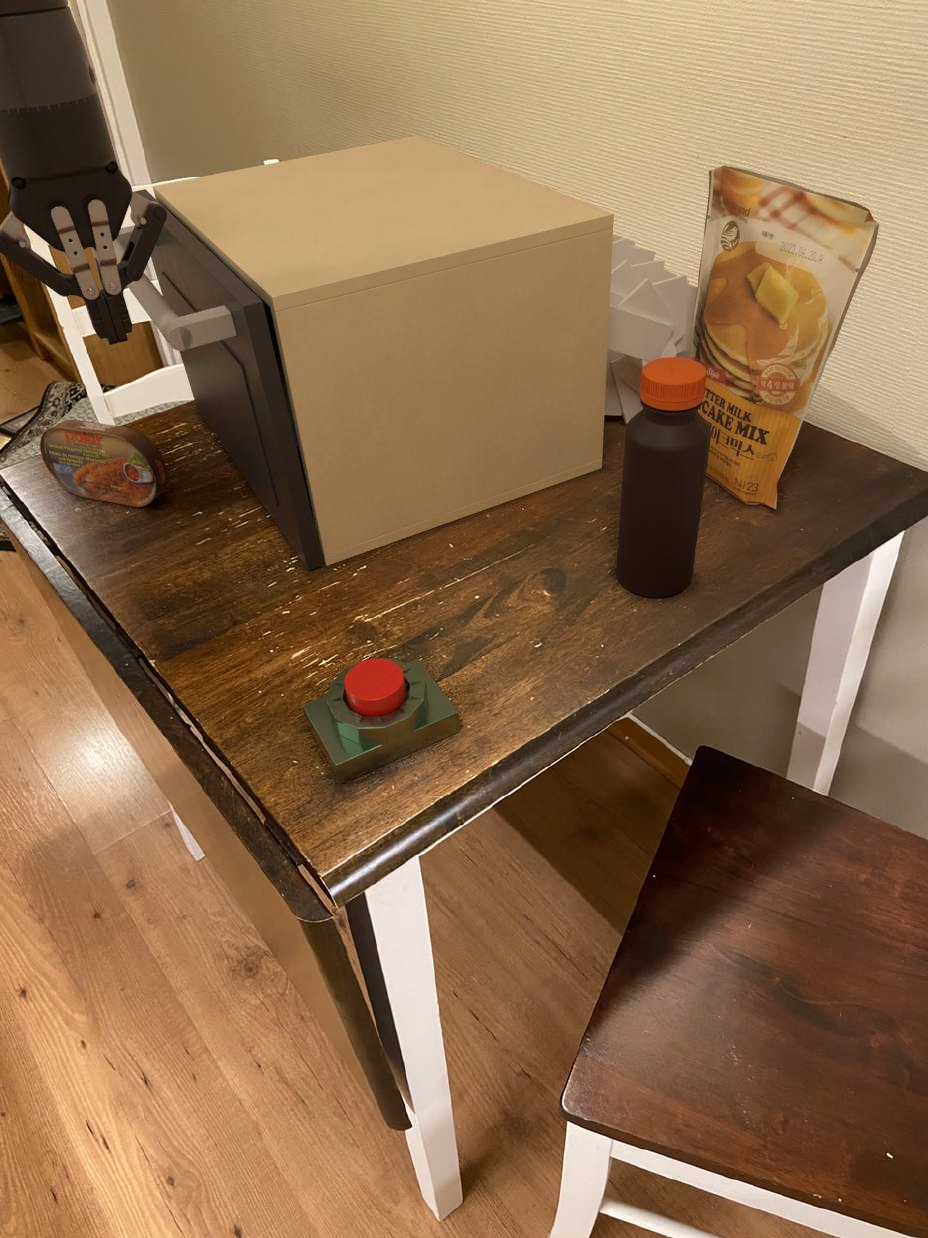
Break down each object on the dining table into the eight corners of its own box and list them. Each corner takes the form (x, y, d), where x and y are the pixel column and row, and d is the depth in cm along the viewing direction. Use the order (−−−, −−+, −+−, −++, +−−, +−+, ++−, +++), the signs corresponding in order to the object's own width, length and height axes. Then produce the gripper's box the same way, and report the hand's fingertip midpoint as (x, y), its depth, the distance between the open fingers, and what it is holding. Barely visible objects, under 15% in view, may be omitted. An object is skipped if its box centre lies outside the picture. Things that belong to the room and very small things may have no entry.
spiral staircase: (593, 374, 121) (687, 450, 102) (480, 342, 113) (561, 418, 94) (650, 239, 113) (765, 293, 94) (533, 194, 105) (633, 244, 86)
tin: (54, 492, 98) (25, 423, 93) (73, 477, 100) (46, 410, 95) (164, 514, 93) (140, 443, 88) (181, 498, 96) (159, 428, 90)
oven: (326, 566, 85) (271, 296, 68) (211, 405, 112) (152, 185, 95) (602, 468, 95) (614, 213, 78) (435, 343, 123) (417, 135, 106)
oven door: (253, 591, 82) (172, 325, 65) (154, 421, 110) (78, 202, 93) (324, 565, 84) (263, 300, 68) (209, 405, 112) (145, 188, 95)
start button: (361, 725, 64) (358, 708, 63) (338, 688, 67) (335, 671, 66) (416, 702, 65) (413, 685, 64) (391, 667, 68) (388, 650, 67)
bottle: (600, 573, 81) (610, 369, 68) (652, 545, 84) (672, 343, 71) (654, 609, 77) (676, 399, 64) (707, 578, 80) (739, 370, 67)
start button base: (341, 786, 64) (332, 750, 62) (305, 723, 69) (296, 687, 67) (461, 732, 67) (458, 696, 65) (419, 675, 72) (415, 639, 70)
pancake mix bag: (704, 424, 101) (739, 155, 83) (820, 505, 87) (892, 205, 69) (654, 439, 99) (679, 167, 81) (764, 524, 85) (824, 220, 67)
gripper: (125, 72, 64) (185, 307, 75) (-71, 98, 60) (24, 344, 71) (148, 85, 59) (210, 335, 70) (-64, 114, 55) (37, 377, 66)
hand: (116, 339), depth 71 cm, fingers closed
